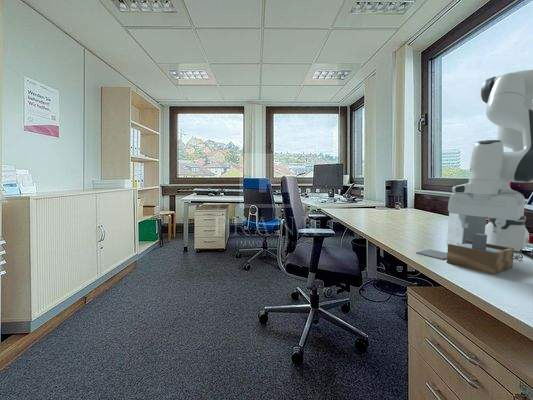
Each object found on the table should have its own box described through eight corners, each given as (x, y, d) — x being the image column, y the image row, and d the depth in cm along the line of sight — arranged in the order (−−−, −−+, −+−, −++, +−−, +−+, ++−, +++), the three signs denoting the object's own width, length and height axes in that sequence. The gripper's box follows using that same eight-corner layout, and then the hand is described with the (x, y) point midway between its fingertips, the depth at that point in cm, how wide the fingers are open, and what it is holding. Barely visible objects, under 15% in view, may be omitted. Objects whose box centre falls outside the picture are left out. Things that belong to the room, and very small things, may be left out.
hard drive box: (483, 256, 113) (488, 203, 111) (461, 254, 115) (465, 203, 113) (465, 246, 128) (469, 200, 127) (445, 245, 130) (449, 199, 128)
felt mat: (430, 250, 121) (430, 249, 121) (456, 256, 112) (456, 255, 112) (416, 253, 115) (416, 252, 115) (442, 259, 107) (442, 258, 107)
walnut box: (465, 257, 111) (467, 240, 111) (512, 267, 99) (514, 248, 99) (446, 262, 104) (448, 244, 103) (494, 274, 92) (496, 253, 91)
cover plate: (466, 246, 110) (468, 229, 109) (507, 254, 99) (508, 236, 99) (451, 249, 104) (452, 232, 103) (492, 258, 93) (494, 239, 93)
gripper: (527, 190, 92) (522, 235, 94) (456, 187, 110) (452, 225, 111) (519, 190, 89) (514, 236, 90) (447, 187, 106) (444, 225, 107)
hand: (480, 230), depth 100 cm, fingers open, 8 cm apart
